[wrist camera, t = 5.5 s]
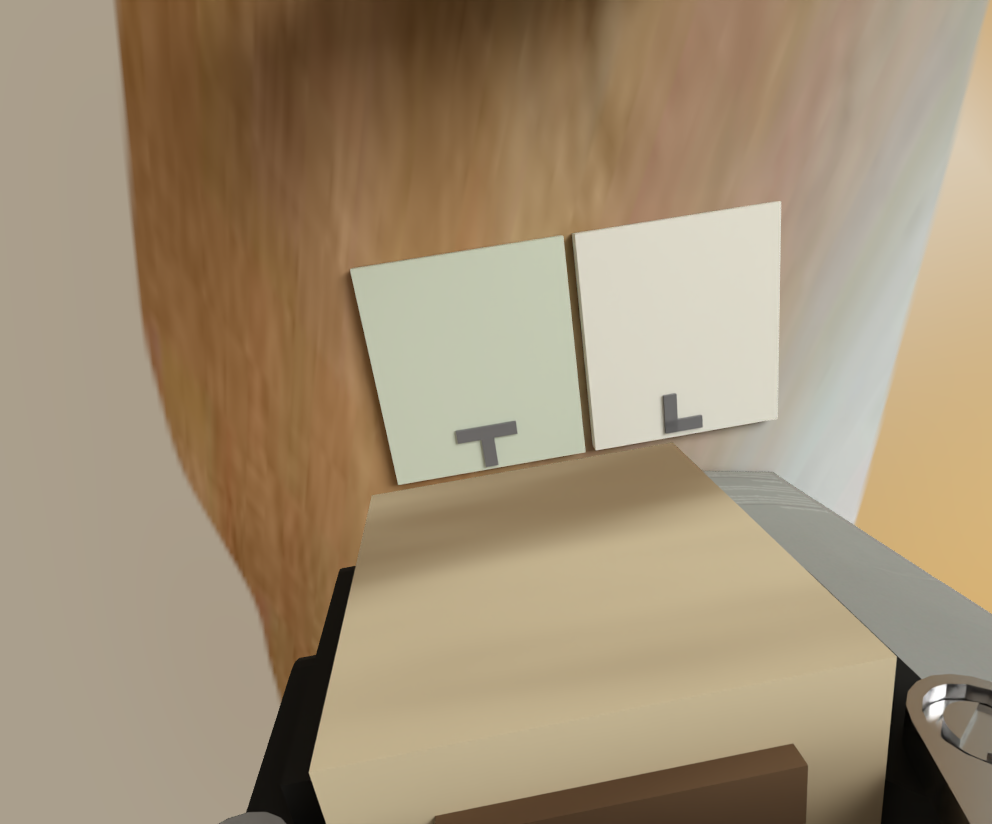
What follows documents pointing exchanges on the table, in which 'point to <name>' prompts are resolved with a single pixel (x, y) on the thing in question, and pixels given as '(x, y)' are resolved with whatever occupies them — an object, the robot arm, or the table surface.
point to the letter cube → (595, 660)
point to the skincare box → (870, 579)
